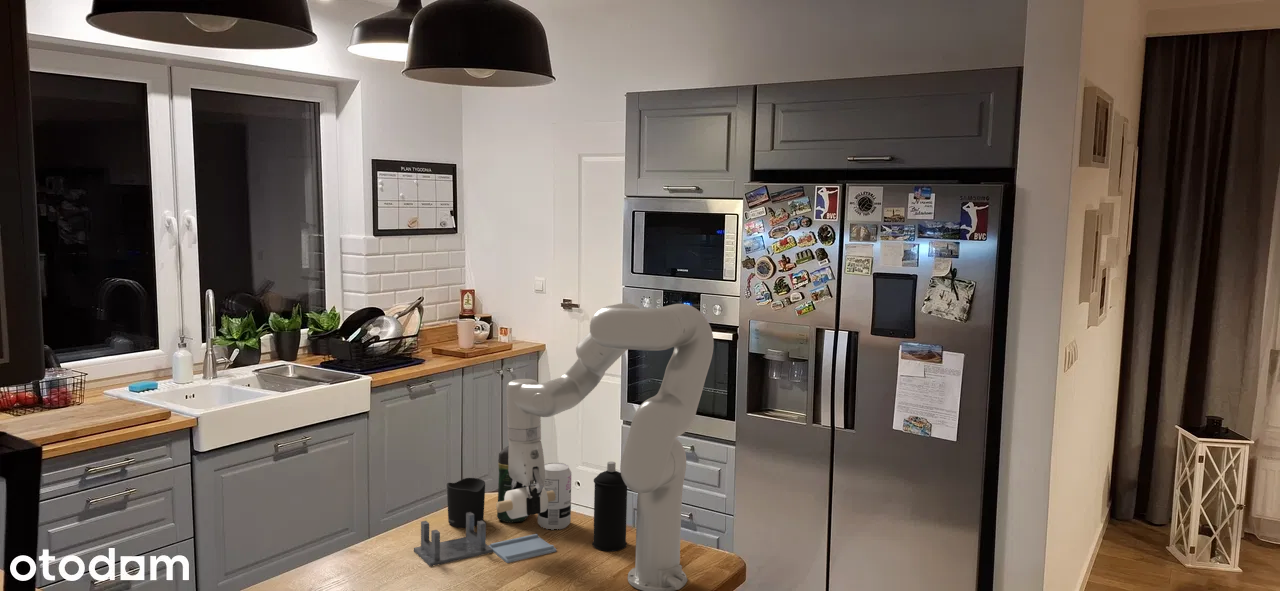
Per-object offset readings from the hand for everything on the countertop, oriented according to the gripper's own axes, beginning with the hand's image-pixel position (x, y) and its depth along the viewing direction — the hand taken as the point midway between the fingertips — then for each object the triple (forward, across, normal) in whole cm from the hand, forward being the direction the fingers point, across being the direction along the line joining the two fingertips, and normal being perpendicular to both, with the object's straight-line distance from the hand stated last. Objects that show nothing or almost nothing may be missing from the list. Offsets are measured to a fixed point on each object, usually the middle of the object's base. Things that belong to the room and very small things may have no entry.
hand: (526, 509), depth 198 cm
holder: (+9, +8, +15) cm, 19 cm away
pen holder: (+9, +24, +5) cm, 26 cm away
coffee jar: (+9, +21, -7) cm, 24 cm away
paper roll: (-2, 0, 0) cm, 2 cm away
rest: (+10, +1, +1) cm, 10 cm away
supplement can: (+10, +11, -13) cm, 20 cm away
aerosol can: (+11, -7, -18) cm, 22 cm away
